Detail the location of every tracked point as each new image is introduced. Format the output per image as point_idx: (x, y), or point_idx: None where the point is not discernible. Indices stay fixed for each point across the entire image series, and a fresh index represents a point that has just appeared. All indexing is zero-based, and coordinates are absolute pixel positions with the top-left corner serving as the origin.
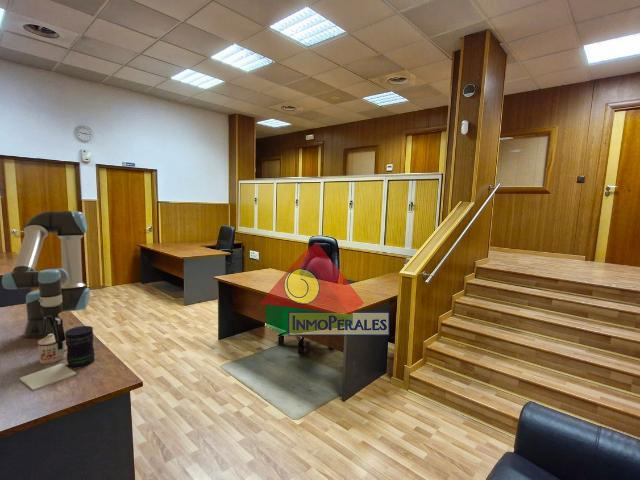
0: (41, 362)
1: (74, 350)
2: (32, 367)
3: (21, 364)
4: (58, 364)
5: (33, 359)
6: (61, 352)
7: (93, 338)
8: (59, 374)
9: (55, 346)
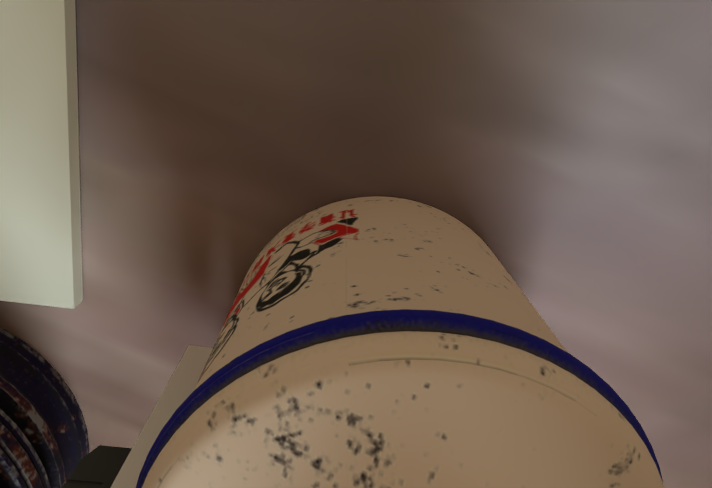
0: (357, 198)
1: None
2: (347, 72)
3: (606, 44)
4: (70, 273)
5: (607, 209)
6: None
7: None
8: None
9: (135, 474)
